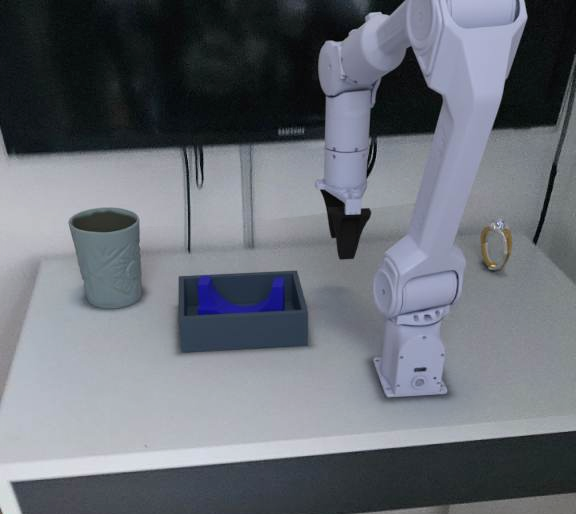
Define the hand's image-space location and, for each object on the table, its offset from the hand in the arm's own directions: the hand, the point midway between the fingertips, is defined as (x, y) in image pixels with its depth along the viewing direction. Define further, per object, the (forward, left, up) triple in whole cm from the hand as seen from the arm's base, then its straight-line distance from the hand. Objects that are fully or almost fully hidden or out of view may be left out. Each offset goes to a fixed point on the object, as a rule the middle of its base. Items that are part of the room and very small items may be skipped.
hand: (342, 247), depth 109 cm
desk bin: (-4, +15, -9) cm, 18 cm away
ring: (+11, -27, -10) cm, 31 cm away
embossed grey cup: (+8, +34, -10) cm, 36 cm away
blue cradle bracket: (-4, +15, -9) cm, 18 cm away
